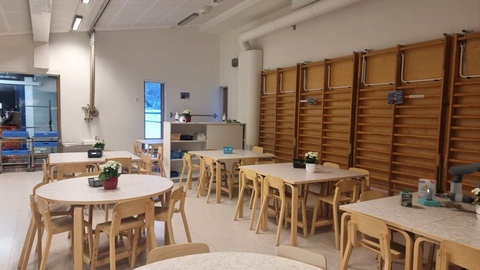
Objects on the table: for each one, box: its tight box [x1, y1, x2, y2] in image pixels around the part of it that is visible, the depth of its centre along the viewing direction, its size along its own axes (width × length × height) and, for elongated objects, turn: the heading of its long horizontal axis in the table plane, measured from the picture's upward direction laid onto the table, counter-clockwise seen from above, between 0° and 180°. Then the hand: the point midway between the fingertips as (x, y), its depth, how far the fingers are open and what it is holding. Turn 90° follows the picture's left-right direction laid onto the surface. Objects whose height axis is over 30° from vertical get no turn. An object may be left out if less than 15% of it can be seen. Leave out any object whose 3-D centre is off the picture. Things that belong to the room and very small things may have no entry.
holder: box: [440, 200, 462, 209], centre depth 296 cm, size 12×12×3 cm
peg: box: [427, 189, 433, 201], centre depth 300 cm, size 4×4×14 cm
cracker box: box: [417, 178, 437, 200], centre depth 316 cm, size 14×6×21 cm, turn 43°
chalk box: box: [399, 188, 413, 208], centre depth 294 cm, size 9×9×15 cm
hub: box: [418, 198, 442, 207], centre depth 300 cm, size 14×14×4 cm
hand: (436, 194), depth 295 cm, fingers open, 8 cm apart
